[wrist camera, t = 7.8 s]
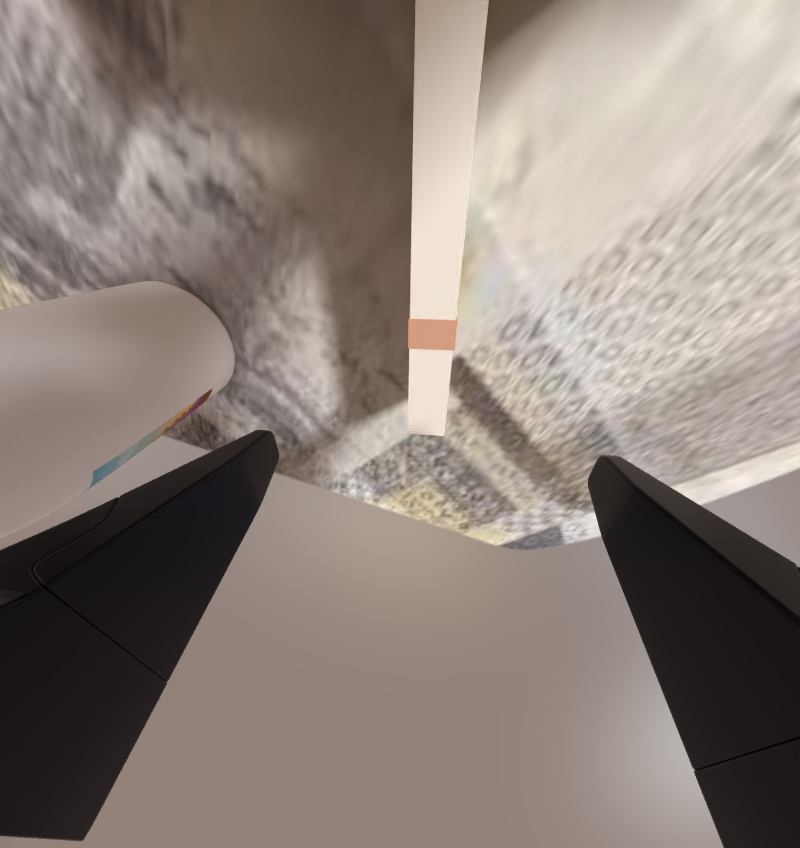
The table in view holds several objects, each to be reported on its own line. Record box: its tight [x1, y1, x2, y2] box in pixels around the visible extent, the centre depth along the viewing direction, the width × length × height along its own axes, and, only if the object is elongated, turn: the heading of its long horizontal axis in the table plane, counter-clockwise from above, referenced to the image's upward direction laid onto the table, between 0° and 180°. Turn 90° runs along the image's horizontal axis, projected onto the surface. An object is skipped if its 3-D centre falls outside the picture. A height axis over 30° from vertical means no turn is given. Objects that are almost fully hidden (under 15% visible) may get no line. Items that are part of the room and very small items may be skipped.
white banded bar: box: [408, 0, 489, 436], centre depth 13 cm, size 2×16×6 cm, turn 0°
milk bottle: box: [0, 281, 235, 538], centre depth 12 cm, size 8×8×20 cm
